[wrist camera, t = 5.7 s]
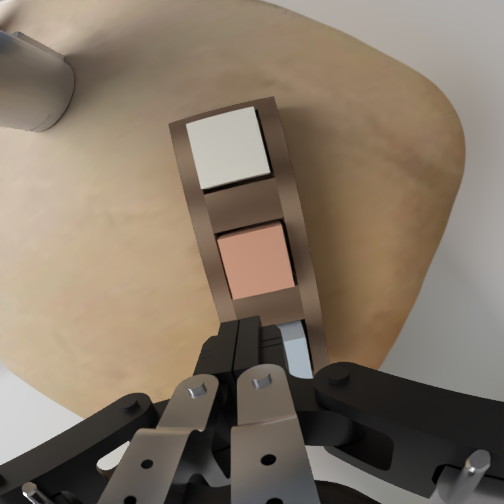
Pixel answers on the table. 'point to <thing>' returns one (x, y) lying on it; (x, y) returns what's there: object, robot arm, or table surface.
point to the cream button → (227, 148)
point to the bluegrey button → (296, 349)
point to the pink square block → (256, 260)
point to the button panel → (249, 214)
